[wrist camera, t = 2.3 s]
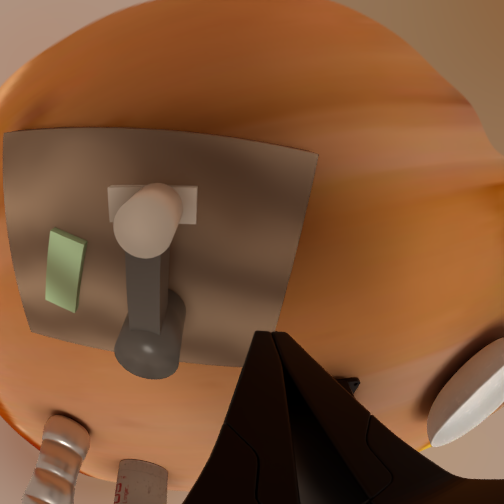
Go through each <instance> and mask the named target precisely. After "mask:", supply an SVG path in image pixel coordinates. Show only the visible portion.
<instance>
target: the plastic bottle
mask: <svg viewBox="0 0 504 504" xmlns="http://www.w3.org/2000/svg"><path fill="white" fill-rule="evenodd" d="M42 439H43V441H42V445H41V449H40V453H39V458H38V462H37V464H36V469H35V470H34V472H33V475H32V478H31V480H30V482H29V484H28V486H27V488H26V490H25V494H24V495H23V498H22V504H74V492H75V485H76V479H77V476H78V473H79V470H80V467H81V465H82V462H83V460H84V459H85V457H86V455H87V452H88V450H89V447H90V437H89V434H88V432H87V430H86V429H85V428H84V427H83V426H82V425H80V424H79V423H77V422H76V421H74V420H72V419H70V418H68V417H65V416H62V415H54V416H52V417H50V418H49V419H48V421H47V423H46V424H45V426H44V431H43V438H42Z"/></svg>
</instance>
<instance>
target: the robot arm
mask: <svg viewBox="0 0 504 504" xmlns="http://www.w3.org/2000/svg"><path fill="white" fill-rule="evenodd" d="M359 384H360V381H359V379H358V378H355V379H341V380H335V379H334V378H333V377H332V376H331V375H330V374H329V373H327V372H326V371H325V370H324V369H323V368H322V367H321V366H320V365H319V364H318V363H317V362H316V361H315V360H314V359H313V358H312V357H311V356H310V355H309V354H308V353H307V352H306V351H305V350H304V349H303V348H302V347H301V346H300V345H299V344H298V343H297V342H296V341H295V340H294V339H293V338H292V337H291V336H290V335H289V334H288V333H286V332H277V331H273V332H269V331H260V330H256V331H255V332H254V335H253V338H252V341H251V344H250V347H249V350H248V353H247V356H246V359H245V362H244V365H243V368H242V371H241V374H240V377H239V380H238V383H237V385H236V388H235V391H234V394H233V397H232V400H231V403H230V406H229V408H228V411H227V414H226V417H225V420H224V423H223V425H222V428H221V430H220V433H219V436H218V439H217V441H216V443H215V446H214V448H213V450H212V453H211V455H210V457H209V459H208V461H207V463H206V465H205V467H204V468H203V470H202V472H201V474H200V476H199V477H198V479H197V481H196V482H195V484H194V486H193V487H192V489H191V490H190V492H189V494H188V495H187V497H186V499H185V500H184V502H183V503H182V504H504V479H499V480H498V479H491V480H490V479H467V478H462V477H458V476H455V475H453V474H451V473H449V472H447V471H445V470H444V469H442V468H441V467H439V466H438V465H436V464H435V463H434V462H432V461H431V460H429V459H428V458H426V457H425V456H423V455H422V454H420V453H419V452H418V451H416V450H415V449H413V448H412V447H411V446H409V445H408V444H407V443H405V442H404V441H403V440H401V439H400V438H399V437H397V436H396V435H395V434H394V433H393V432H391V431H390V430H389V429H388V428H387V427H386V426H384V425H383V424H382V423H381V422H380V421H379V420H378V419H377V418H376V417H374V416H373V415H370V412H369V411H368V410H367V409H366V408H365V407H363V406H362V405H361V404H360V403H359V402H358V401H357V400H356V399H355V397H354V395H353V394H354V392H355V391H356V389H357V388H358V386H359Z"/></svg>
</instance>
